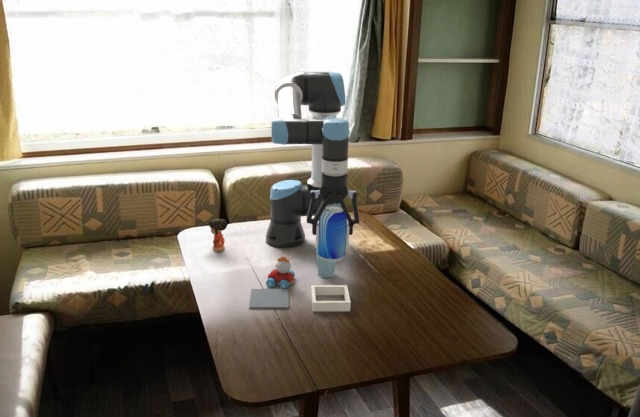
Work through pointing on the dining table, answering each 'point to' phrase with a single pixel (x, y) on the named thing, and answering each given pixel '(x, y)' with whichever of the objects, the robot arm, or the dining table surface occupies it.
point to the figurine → (218, 233)
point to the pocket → (330, 304)
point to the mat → (269, 299)
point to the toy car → (281, 274)
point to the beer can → (332, 234)
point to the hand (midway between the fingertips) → (332, 244)
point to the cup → (325, 267)
